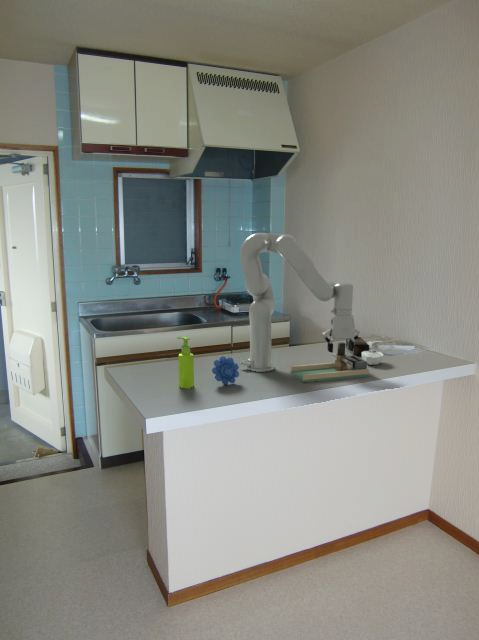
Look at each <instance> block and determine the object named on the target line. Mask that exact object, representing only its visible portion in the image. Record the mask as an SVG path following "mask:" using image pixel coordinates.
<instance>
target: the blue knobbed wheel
mask: <svg viewBox="0 0 479 640" xmlns="http://www.w3.org/2000/svg"><path fill="white" fill-rule="evenodd" d="M213 365H214V367H212V369H211V372H212V374H214V379H215V381H217V382H221V383H222V384H223V385H225V386H226V384H227V385H228V384H229V383H231V384H235V383H236V379H237V378H239V377H240V372H239V371H238V370H239V368H240V365H239V363H236V362H235V360H234V358H232V357H228V358H227V357H226V356H223V355H222V356H220V357H219V360H218V359H216V360H214V361H213Z"/></svg>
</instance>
